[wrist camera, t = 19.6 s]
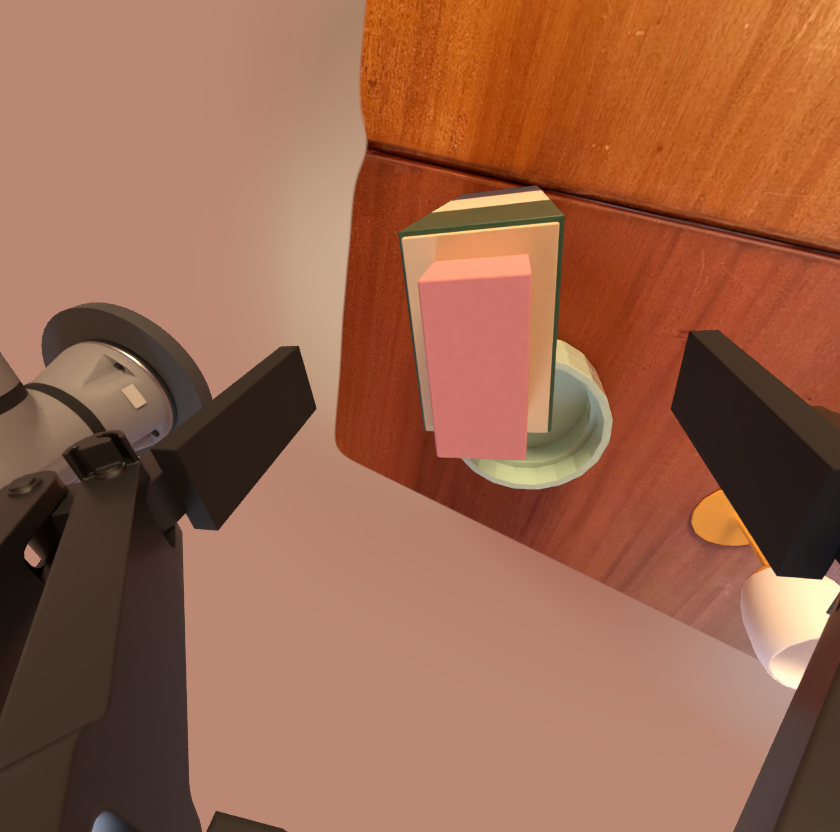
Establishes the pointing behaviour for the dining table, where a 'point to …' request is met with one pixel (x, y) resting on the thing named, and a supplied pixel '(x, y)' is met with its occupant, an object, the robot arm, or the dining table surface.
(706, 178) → the dining table surface
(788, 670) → the cup
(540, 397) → the felt pad
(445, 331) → the eraser
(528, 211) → the book stack
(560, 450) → the bowl
